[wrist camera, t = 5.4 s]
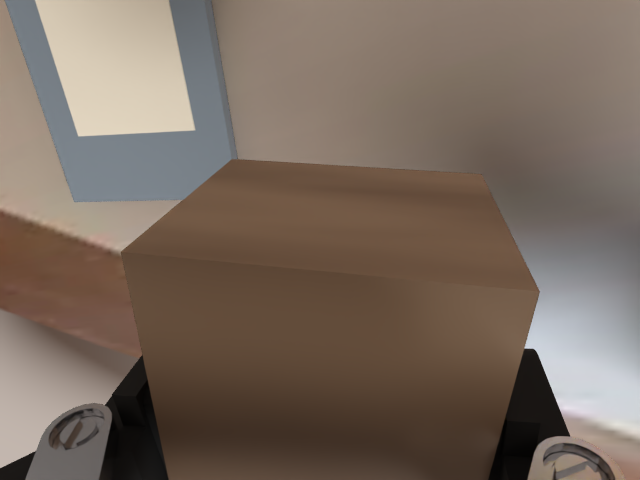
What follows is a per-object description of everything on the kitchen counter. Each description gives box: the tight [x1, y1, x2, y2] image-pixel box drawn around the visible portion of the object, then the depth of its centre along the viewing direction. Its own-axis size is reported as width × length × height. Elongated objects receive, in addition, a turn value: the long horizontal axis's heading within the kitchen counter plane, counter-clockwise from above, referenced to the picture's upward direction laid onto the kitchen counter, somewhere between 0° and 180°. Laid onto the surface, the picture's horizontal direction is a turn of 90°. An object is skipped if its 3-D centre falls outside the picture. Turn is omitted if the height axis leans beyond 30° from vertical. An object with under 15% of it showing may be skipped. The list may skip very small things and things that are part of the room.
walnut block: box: [121, 159, 540, 480], centre depth 11 cm, size 9×6×5 cm, turn 179°
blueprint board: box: [5, 0, 238, 202], centre depth 26 cm, size 20×12×1 cm, turn 5°
